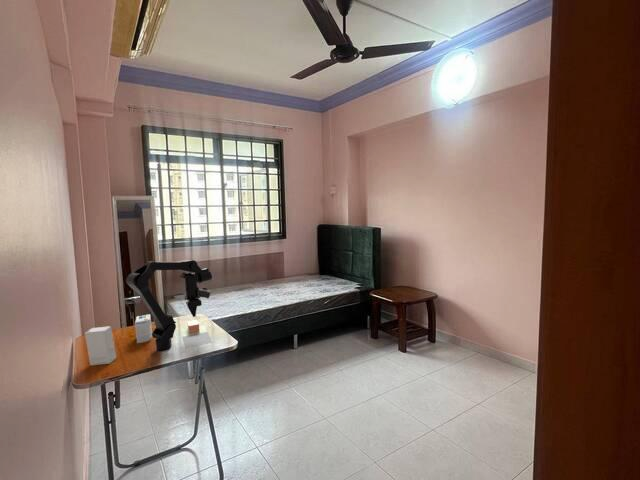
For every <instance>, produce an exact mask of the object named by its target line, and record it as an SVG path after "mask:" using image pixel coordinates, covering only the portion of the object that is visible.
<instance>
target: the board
mask: <svg viewBox="0 0 640 480" xmlns="http://www.w3.org/2000/svg"><path fill="white" fill-rule="evenodd" d="M199 330H200V332H197V333H192V334H189V331H188V327H186V328H181V329H180V334H181V337H182V342H183V346H184V349H187V348H188V349H189V348H192V347H197V346H201V345H207V344H211V343H212V344H213V340H212V339H211V336H210V334H209V332H208V330H207V327H206V326H205V325H204V324H202V325H199Z"/></svg>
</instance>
